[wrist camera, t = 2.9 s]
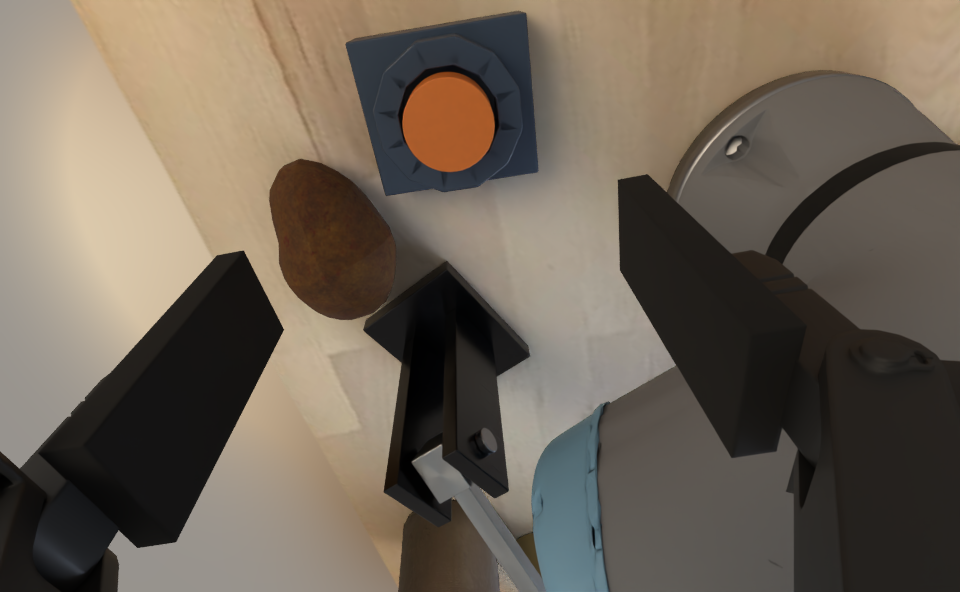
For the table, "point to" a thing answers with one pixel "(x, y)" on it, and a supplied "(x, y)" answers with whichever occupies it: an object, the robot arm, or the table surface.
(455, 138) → the button
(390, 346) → the lever bracket
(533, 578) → the lever
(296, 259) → the potato
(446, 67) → the button block
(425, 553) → the pillar candle
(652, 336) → the table surface
